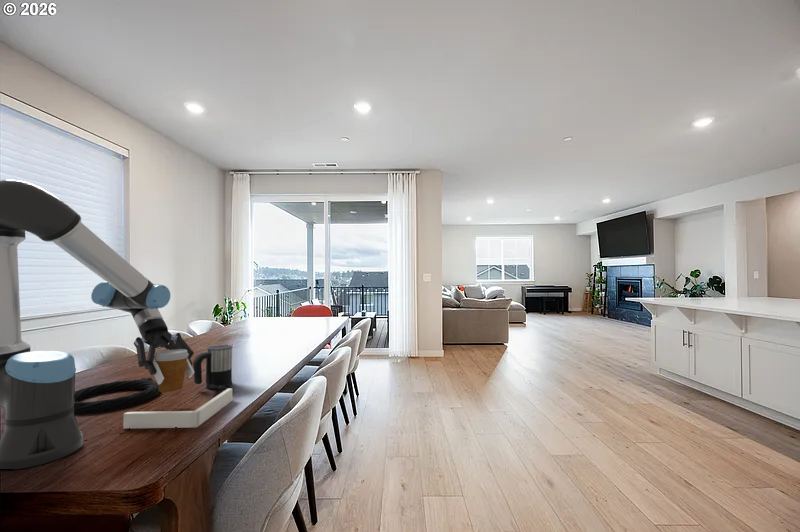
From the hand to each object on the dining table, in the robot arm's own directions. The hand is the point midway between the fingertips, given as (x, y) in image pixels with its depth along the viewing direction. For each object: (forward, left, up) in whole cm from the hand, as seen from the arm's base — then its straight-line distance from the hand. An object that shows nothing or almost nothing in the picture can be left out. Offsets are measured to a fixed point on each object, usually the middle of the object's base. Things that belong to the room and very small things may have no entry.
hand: (177, 378), depth 115 cm
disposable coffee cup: (+1, +3, -4) cm, 5 cm away
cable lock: (+11, +28, -10) cm, 32 cm away
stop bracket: (-4, -4, -10) cm, 11 cm away
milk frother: (+21, -4, -10) cm, 24 cm away
